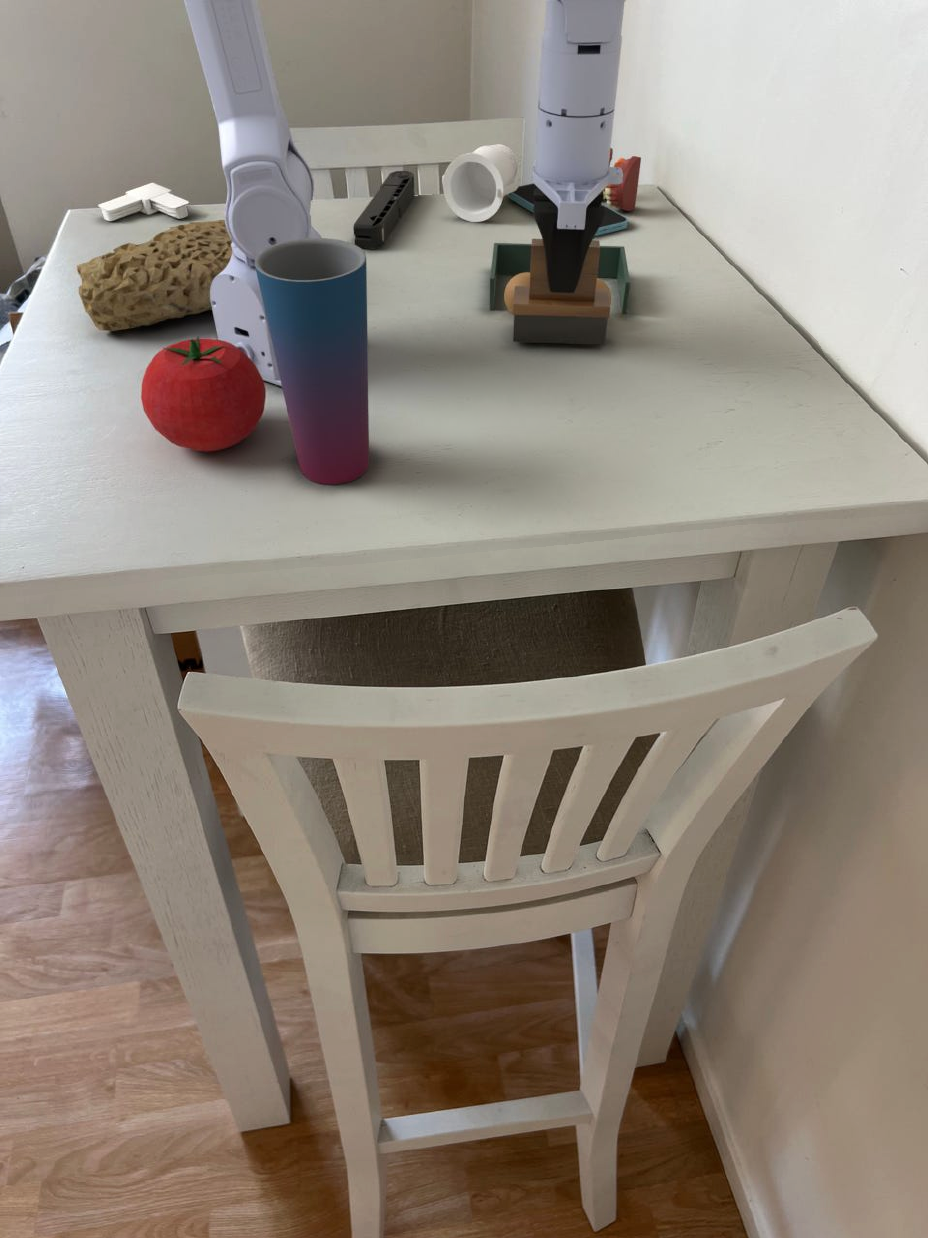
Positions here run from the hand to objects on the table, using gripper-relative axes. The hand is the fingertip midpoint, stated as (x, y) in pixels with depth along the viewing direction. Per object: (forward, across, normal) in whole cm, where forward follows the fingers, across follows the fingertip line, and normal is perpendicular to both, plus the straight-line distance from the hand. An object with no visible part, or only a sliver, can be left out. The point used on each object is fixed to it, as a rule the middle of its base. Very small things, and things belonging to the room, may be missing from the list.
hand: (562, 285), depth 76 cm
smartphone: (+5, +25, -5) cm, 26 cm away
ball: (+3, +4, -3) cm, 6 cm away
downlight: (+1, +28, +10) cm, 29 cm away
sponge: (+5, +5, +34) cm, 35 cm away
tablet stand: (+4, +28, +21) cm, 35 cm away
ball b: (+3, +4, +3) cm, 6 cm away
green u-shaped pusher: (+5, +11, 0) cm, 12 cm away
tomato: (+5, -18, +26) cm, 32 cm away
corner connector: (+3, +27, +46) cm, 54 cm away
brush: (+4, 0, 0) cm, 4 cm away
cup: (+5, -21, +16) cm, 27 cm away
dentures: (+2, +38, -3) cm, 38 cm away
